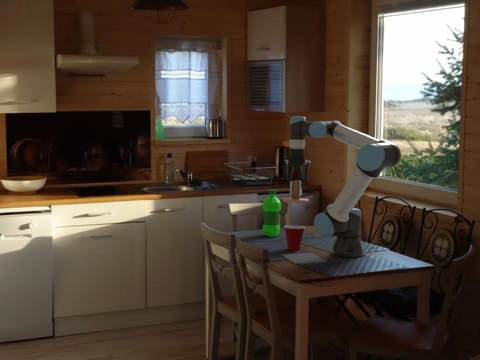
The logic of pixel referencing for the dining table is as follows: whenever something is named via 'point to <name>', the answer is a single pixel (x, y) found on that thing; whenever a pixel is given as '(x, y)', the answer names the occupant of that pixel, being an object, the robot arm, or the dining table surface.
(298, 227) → the plastic cup
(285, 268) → the dining table surface
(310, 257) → the mat
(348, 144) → the robot arm
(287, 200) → the lid
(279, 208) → the plastic bottle
